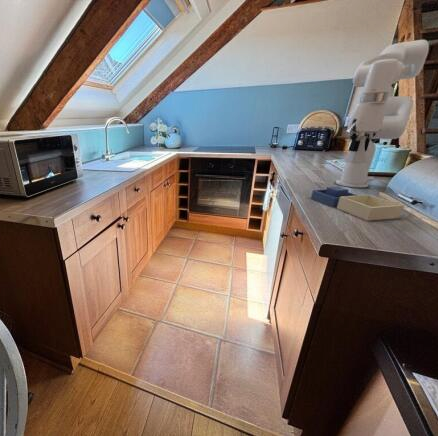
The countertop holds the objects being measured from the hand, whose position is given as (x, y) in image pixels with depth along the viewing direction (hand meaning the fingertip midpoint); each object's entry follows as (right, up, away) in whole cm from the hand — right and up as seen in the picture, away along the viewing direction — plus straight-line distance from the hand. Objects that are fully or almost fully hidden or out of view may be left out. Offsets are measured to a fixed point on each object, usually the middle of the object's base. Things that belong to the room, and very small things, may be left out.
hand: (357, 150), depth 96 cm
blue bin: (-7, -20, +3) cm, 22 cm away
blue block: (-7, -20, +3) cm, 21 cm away
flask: (0, -4, +2) cm, 5 cm away
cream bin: (-5, -25, -9) cm, 27 cm away
